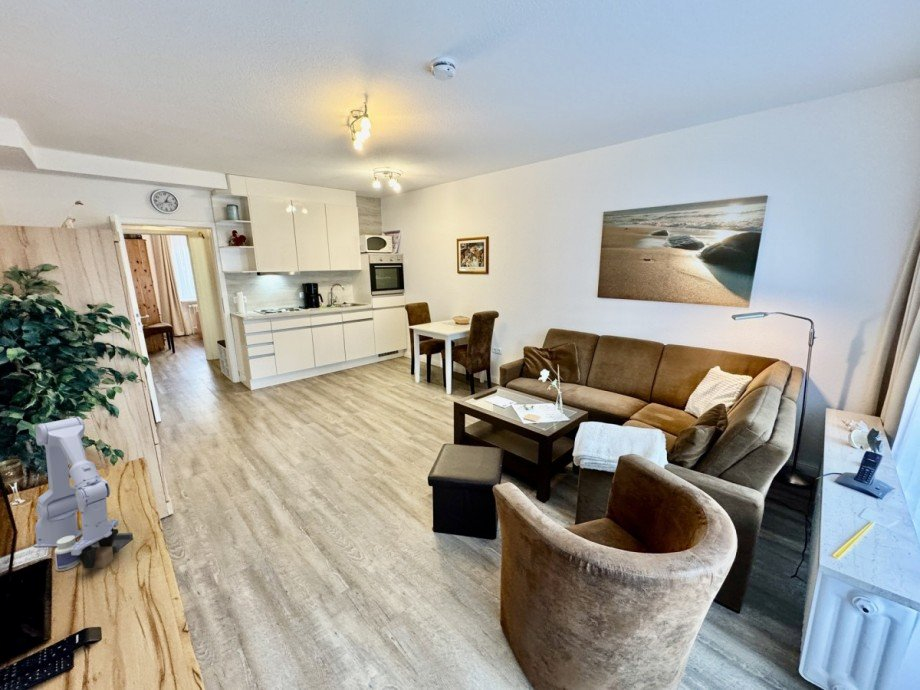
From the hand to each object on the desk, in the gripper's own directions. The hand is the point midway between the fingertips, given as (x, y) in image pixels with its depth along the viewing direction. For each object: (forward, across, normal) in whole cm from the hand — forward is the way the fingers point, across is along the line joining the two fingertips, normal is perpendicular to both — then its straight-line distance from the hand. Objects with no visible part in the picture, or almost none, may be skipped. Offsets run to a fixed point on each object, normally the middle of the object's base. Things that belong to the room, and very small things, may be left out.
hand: (97, 560), depth 116 cm
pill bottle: (+2, 0, +8) cm, 9 cm away
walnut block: (+2, 0, 0) cm, 2 cm away
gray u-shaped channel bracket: (+1, +9, +4) cm, 10 cm away
